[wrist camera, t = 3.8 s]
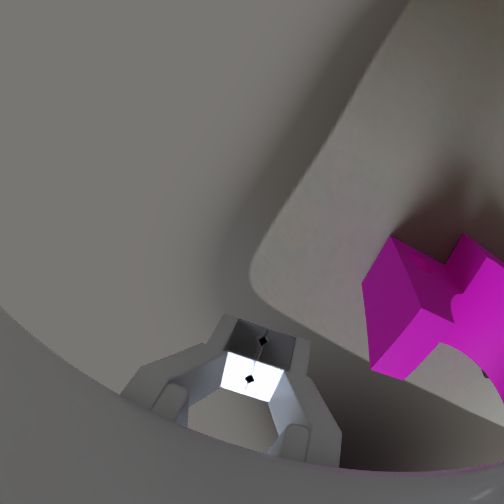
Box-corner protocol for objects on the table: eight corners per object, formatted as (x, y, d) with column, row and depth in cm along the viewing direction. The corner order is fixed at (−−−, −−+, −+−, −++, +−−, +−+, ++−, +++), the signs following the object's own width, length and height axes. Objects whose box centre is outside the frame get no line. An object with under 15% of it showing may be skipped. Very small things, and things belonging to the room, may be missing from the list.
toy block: (534, 288, 13) (576, 345, 7) (493, 345, 16) (519, 409, 10) (408, 199, 14) (457, 253, 8) (361, 283, 17) (369, 369, 11)
